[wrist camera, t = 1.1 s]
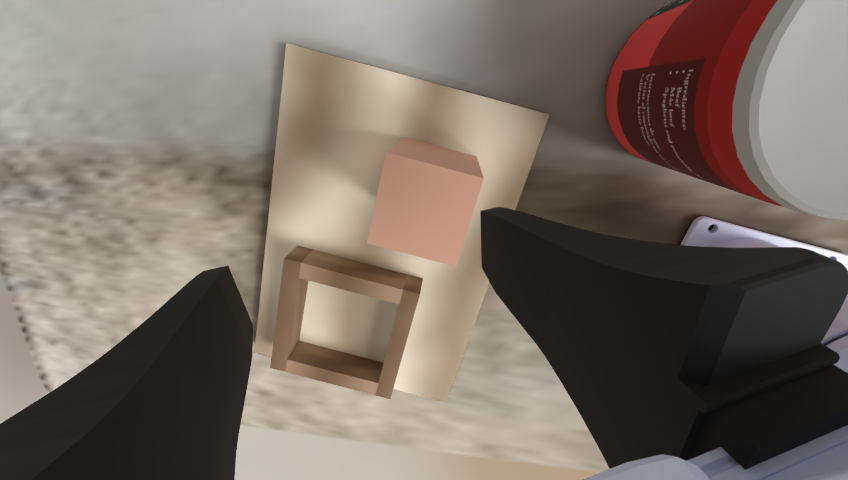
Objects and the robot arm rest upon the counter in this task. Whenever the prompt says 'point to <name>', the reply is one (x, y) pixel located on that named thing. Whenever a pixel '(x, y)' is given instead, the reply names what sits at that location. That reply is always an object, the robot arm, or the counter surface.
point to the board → (351, 218)
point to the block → (425, 200)
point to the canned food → (741, 98)
